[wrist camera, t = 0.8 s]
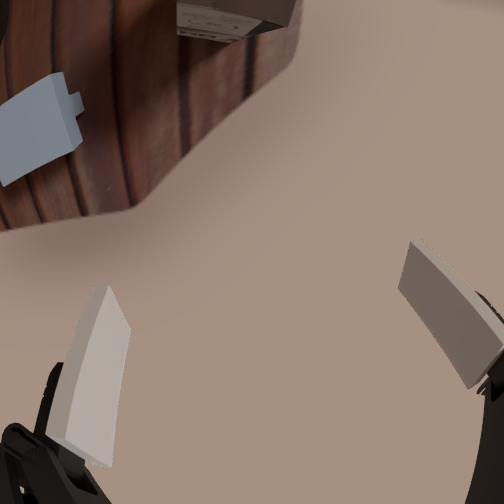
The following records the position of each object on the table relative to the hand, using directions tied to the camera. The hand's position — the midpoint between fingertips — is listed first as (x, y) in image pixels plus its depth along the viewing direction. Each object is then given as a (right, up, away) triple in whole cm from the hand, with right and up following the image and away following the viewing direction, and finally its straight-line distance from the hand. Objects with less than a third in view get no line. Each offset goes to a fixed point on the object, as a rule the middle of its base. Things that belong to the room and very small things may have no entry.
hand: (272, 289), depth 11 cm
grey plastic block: (-24, +17, +11) cm, 31 cm away
